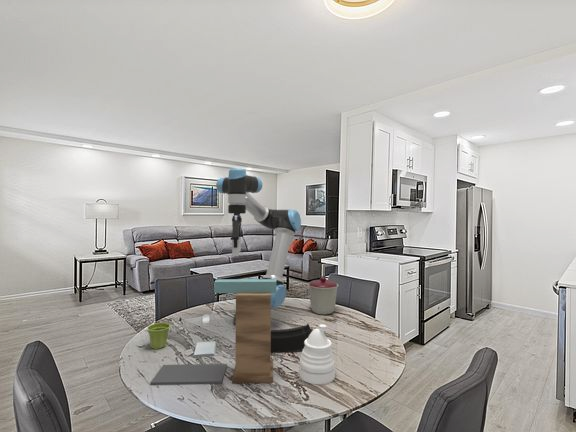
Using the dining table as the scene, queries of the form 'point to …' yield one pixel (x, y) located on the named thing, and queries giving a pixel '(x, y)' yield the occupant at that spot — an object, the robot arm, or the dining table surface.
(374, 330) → the dining table surface
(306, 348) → the honey pot
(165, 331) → the plant pot
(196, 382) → the pad
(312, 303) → the canister
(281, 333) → the magazine
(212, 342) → the hard drive
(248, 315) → the stand
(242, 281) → the teal square bar
